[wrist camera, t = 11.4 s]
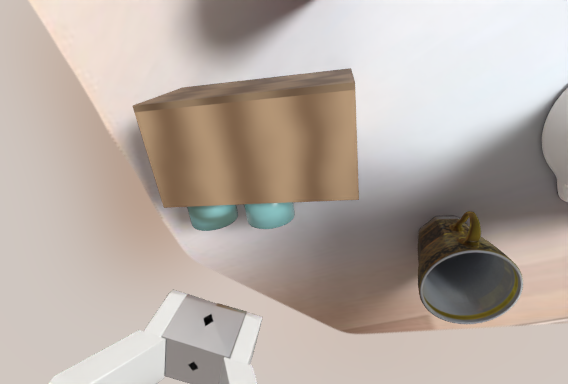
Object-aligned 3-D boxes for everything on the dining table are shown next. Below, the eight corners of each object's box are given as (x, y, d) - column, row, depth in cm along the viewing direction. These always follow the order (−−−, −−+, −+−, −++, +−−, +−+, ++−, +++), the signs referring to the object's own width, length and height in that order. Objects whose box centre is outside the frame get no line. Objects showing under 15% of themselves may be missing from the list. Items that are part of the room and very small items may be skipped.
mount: (350, 68, 37) (354, 82, 27) (355, 190, 43) (360, 238, 33) (182, 87, 40) (132, 105, 31) (209, 197, 47) (174, 242, 37)
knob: (283, 90, 36) (274, 99, 31) (297, 204, 41) (291, 228, 36) (233, 95, 37) (216, 105, 32) (253, 206, 42) (242, 229, 37)
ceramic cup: (479, 268, 45) (514, 326, 36) (402, 267, 47) (416, 323, 38) (494, 179, 40) (539, 222, 31) (406, 183, 41) (424, 224, 33)
